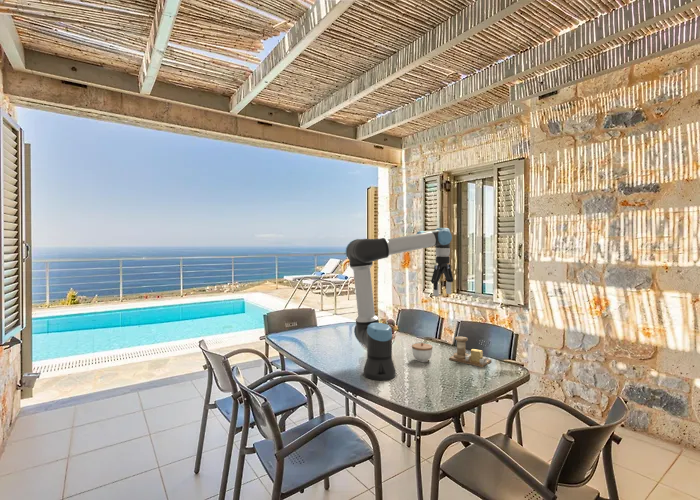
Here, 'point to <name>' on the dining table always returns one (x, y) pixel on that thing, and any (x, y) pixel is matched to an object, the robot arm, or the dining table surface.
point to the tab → (476, 355)
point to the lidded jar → (422, 352)
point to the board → (468, 360)
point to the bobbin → (461, 347)
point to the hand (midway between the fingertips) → (442, 294)
